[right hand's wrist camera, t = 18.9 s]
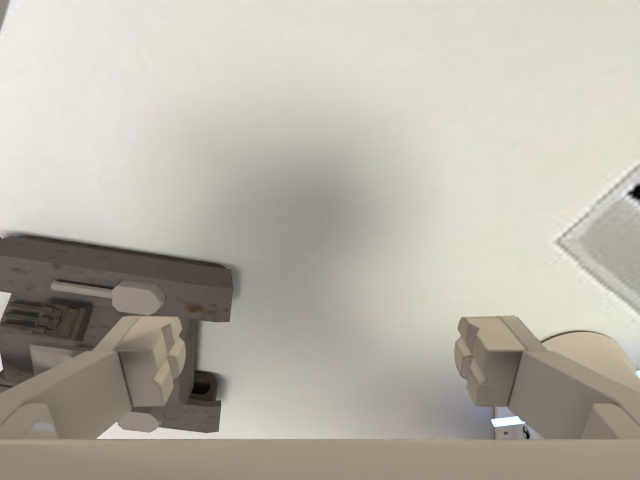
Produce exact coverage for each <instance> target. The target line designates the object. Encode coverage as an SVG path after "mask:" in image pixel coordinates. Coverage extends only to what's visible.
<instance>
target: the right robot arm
mask: <svg viewBox="0 0 640 480" xmlns="http://www.w3.org/2000/svg"><path fill="white" fill-rule="evenodd" d="M181 331H182V326H181V321H180V319H179V318H178V317H171V316H125V317H122V318H121V319H120V320H119V321H118V322H117V324H116V325H115V326H114V327H113V328H112V329H111V330H110V331H109V332H108V334H107V335H106V336H105V337H104V338H103V339H102V340H101V341H100V342H99V344H98V345H97V346H96V347H95V348H94V349H93V350H92V351H85V352H83V353H81V354H79V355H77V356H75V357H73V358H71V359H69V360H67V361H65V362H63V363H61V364H59V365H57V366H55V367H53V368H51V369H49V370H47V371H45V372H43V373H41V374H39V375H36V376H34V377H32V378H30V379H28V380H26V381H24V382H22V383H20V384H18V385H16V386H14V387H12V388H10V389H8V390H6V391H4V392H2V393H0V480H640V371H639V370H638V369H637V368H636V367H634V365H633V364H632V363H631V361H630V360H629V359H628V357H627V356H626V355H625V353H624V352H623V350H622V348H621V347H620V346H619V345H618V344H617V343H616V342H615V341H614V340H612V339H611V338H609V337H607V336H604V335H601V334H598V333H592V332H573V333H568V334H563V335H560V336H556V337H554V338H551V339H549V340H547V341H545V342H543V343H541V342H540V341H539V340H538V339H537V338H536V337H535V336H534V335H533V334H532V332H531V331H530V330H529V329H528V328H527V327H526V326H525V325H524V323H523V322H522V321H521V320H520V319H519V318H518V317H516V316H496V317H461V319H460V321H459V325H458V331H459V332H460V334H461V337H460V338H459V339H458V340H457V341H456V342H455V350H454V355H455V363H456V367H457V369H458V372H459V374H460V375H461V376H462V377H463V378H465V379H466V380H467V386H466V388H467V390H468V392H469V394H470V396H471V398H472V400H473V402H474V404H475V405H476V406H487V407H495V419H492V423H493V425H494V427H495V439H96V438H97V437H99V436H100V435H101V434H102V433H103V432H105V431H106V430H107V429H108V428H109V427H111V426H112V425H113V424H114V423H115V422H117V421H118V420H119V419H120V418H122V417H123V416H124V415H125V414H126V413H128V412H129V411H130V410H131V409H132V407H152V406H165V404H166V402H167V400H168V398H169V396H170V394H171V392H172V390H173V388H174V386H173V380H174V379H175V378H177V377H178V376H179V375H180V374H181V372H182V369H183V367H184V362H185V358H186V349H185V342H184V341H183V340H182V339H181V338H180V337H179V334H180V332H181Z"/></svg>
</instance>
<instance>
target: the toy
mask: <svg viewBox="0 0 640 480" xmlns="http://www.w3.org/2000/svg"><path fill="white" fill-rule="evenodd" d="M0 291H1V292H8V293H12V294H11V297H10V299H9V302H8V304H7V306H6V309H5V311H4V314H3V316H2V319H1V321H0V354H1V360H2V365H3V370H2V371H1V372H0V393H2V392H4V391H6V390H8V389H10V388H12V387H14V386H16V385H18V384H20V383H22V382H24V381H26V380H28V379H30V378H32V377H34V376H36V375H39V374H41V373H43V372H45V371H47V370H49V369H51V368H53V367H55V366H57V365H59V364H61V363H63V362H65V361H67V360H69V359H71V358H73V357H75V356H77V355H79V354H81V353H83V352H85V351H92V350H93V349H94V348H95V347H96V346H97V345H98V344H99V342H100V341H101V340H102V339H103V338H104V337H105V336H106V335H107V334H108V332H109V331H110V330H111V329H112V328H113V327H114V326H115V325H116V324H117V322H118V321H119V320H120V319H121V318H122V317H125V316H171V317H178V318H179V319H180V321H181V326H182V331H181V332H180V334H179V337H180V338H181V339H182V340H183V341H184V342H185V349H186V358H185V362H184V367H183V369H182V372H181V374H180V375H179V376H178V377H177V378H175V379H174V380H173V386H174V388H173V390H172V392H171V394H170V396H169V398H168V400H167V402H166V404H165V406H152V407H132V409H131V410H130V411H129V412H128V413H126V414H125V415H124V416H123V417H122V418H120V419H119V420H118V421H117V422H118V425H119V426H120V427H121V428H122V429H124V430H132V431H141V432H149V433H150V432H152V431H154V430H156V429H157V428H158V427H162V428H170V429H178V430H186V431H195V432H203V433H211V432H218V431H219V421H220V412H221V400H219V401H216V393H217V380H216V378H215V377H214V376H213V375H210V374H203V373H195V372H194V365H195V347H196V328H197V320H205V321H212V322H230V312H231V302H232V292H233V284H232V277H231V270H229V269H226V268H225V267H223V266H222V265H218V264H212V263H205V262H199V261H192V260H185V259H179V258H172V257H165V256H159V255H152V254H145V253H139V252H132V251H125V250H119V249H112V248H105V247H99V246H92V245H85V244H79V243H72V242H65V241H59V240H52V239H45V238H39V237H32V236H21V237H7V238H3V239H1V237H0Z"/></svg>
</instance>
